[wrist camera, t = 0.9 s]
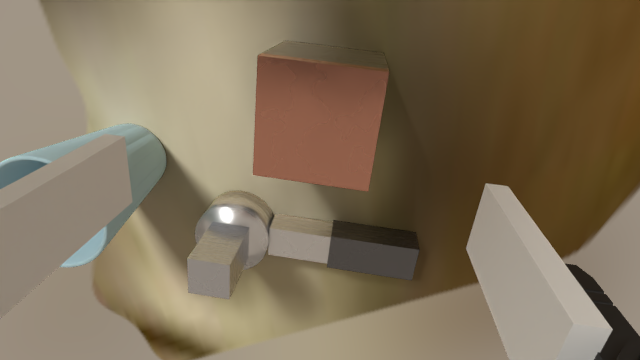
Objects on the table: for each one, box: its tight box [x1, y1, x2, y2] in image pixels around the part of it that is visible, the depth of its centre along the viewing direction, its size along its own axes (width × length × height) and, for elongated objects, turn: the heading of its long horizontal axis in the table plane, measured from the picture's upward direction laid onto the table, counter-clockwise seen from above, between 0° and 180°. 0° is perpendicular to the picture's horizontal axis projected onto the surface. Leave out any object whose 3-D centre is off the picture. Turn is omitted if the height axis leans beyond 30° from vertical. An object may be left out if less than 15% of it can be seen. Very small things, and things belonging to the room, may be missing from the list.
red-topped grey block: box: [253, 41, 389, 191], centre depth 26 cm, size 7×7×8 cm
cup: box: [0, 124, 167, 267], centre depth 29 cm, size 8×8×10 cm
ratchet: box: [187, 191, 419, 299], centre depth 31 cm, size 18×6×8 cm, turn 84°
